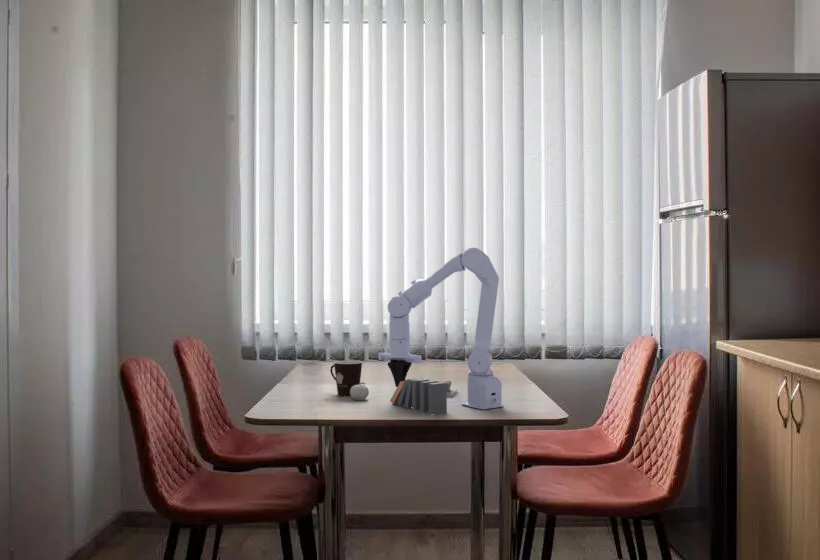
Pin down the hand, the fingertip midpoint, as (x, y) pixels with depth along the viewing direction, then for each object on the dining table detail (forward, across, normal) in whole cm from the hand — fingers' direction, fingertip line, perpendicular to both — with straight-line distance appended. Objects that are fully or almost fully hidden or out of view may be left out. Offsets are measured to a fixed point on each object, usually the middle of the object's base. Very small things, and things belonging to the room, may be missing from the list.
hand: (399, 386), depth 209 cm
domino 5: (+5, -14, +4) cm, 15 cm away
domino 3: (+5, -6, +2) cm, 8 cm away
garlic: (+5, +14, +2) cm, 15 cm away
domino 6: (+5, -17, +5) cm, 19 cm away
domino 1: (+4, +1, 0) cm, 4 cm away
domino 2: (+4, -3, +1) cm, 5 cm away
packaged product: (+6, +5, -19) cm, 21 cm away
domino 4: (+5, -10, +3) cm, 12 cm away
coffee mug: (+5, +24, -3) cm, 25 cm away
